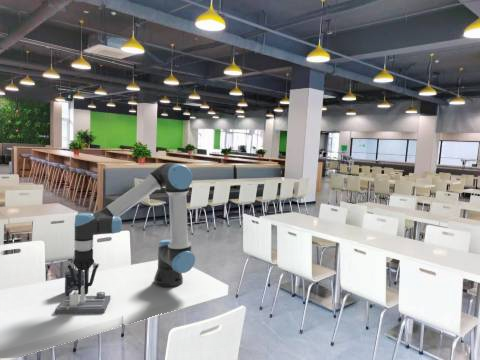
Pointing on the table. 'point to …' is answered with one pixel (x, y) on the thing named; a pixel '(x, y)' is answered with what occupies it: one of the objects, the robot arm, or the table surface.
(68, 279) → the box
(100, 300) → the console
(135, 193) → the robot arm
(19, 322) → the table surface
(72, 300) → the block
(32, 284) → the table surface
